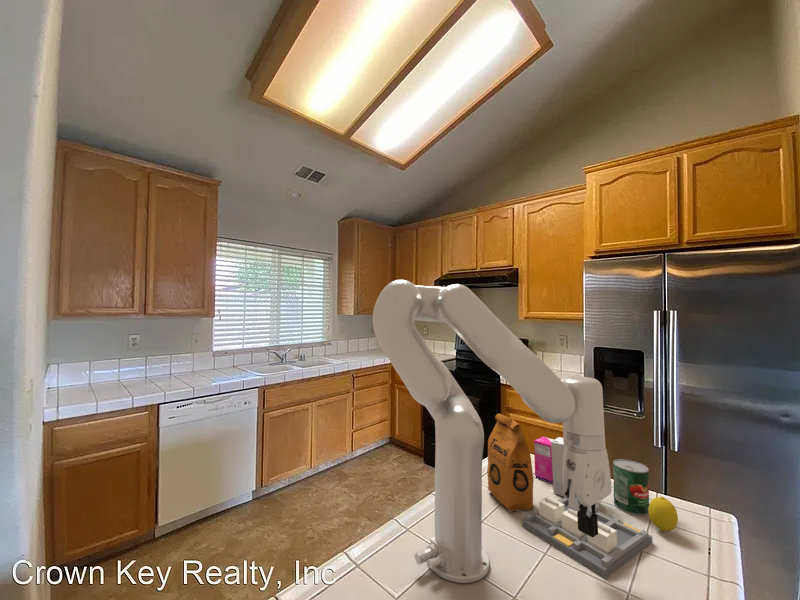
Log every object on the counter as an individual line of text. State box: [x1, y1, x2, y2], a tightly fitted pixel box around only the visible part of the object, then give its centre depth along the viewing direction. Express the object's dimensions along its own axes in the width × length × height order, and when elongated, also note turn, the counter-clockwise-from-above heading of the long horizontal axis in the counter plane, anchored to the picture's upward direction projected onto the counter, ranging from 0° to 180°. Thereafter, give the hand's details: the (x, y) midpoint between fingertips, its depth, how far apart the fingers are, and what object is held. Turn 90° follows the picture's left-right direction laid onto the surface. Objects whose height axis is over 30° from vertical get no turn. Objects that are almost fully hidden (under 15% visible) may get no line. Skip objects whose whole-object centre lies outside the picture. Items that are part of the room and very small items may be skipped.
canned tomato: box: [612, 458, 650, 517], centre depth 92 cm, size 8×8×11 cm
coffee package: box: [486, 413, 534, 513], centre depth 94 cm, size 10×12×22 cm
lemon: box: [648, 496, 679, 533], centre depth 81 cm, size 6×6×8 cm
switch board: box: [522, 497, 653, 580], centre depth 80 cm, size 20×19×2 cm
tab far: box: [538, 496, 565, 524], centre depth 82 cm, size 4×4×5 cm
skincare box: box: [551, 436, 565, 498], centre depth 97 cm, size 8×6×15 cm
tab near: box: [587, 521, 617, 554], centre depth 73 cm, size 4×4×5 cm
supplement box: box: [533, 436, 555, 484], centre depth 108 cm, size 6×6×12 cm
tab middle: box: [562, 508, 587, 538], centre depth 77 cm, size 4×4×5 cm
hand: (588, 532), depth 69 cm, fingers closed
